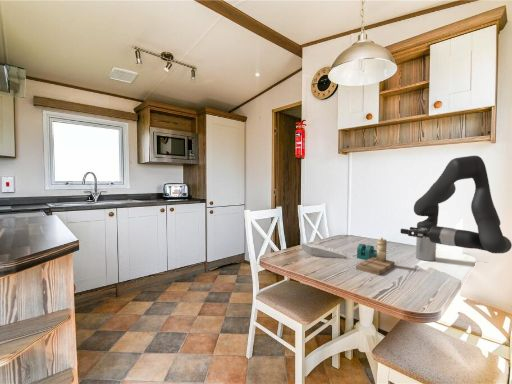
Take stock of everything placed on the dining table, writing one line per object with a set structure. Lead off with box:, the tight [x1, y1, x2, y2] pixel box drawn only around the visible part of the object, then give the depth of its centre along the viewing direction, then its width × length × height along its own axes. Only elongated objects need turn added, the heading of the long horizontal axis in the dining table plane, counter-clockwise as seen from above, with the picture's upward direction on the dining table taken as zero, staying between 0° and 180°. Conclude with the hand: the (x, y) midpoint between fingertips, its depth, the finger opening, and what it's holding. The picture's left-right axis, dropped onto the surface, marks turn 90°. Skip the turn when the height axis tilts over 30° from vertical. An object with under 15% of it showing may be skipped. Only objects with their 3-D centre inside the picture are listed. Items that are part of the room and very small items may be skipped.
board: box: [355, 257, 395, 276], centre depth 128 cm, size 20×11×2 cm, turn 133°
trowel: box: [301, 241, 346, 259], centre depth 151 cm, size 28×16×5 cm, turn 54°
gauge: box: [376, 237, 388, 262], centre depth 132 cm, size 5×5×12 cm
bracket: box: [356, 243, 377, 261], centre depth 147 cm, size 18×7×8 cm, turn 132°
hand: (405, 230), depth 122 cm, fingers open, 8 cm apart
